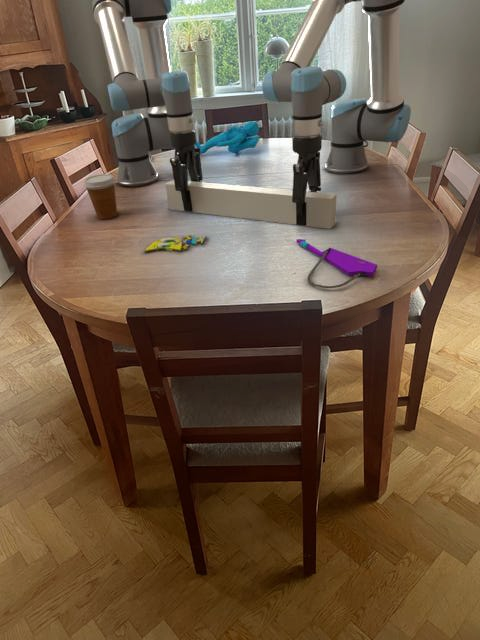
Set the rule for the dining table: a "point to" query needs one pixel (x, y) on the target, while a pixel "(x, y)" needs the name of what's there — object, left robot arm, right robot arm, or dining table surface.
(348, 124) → the right robot arm
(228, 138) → the toy
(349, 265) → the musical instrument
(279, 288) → the dining table surface
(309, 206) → the bar
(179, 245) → the toy
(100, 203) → the disposable coffee cup
